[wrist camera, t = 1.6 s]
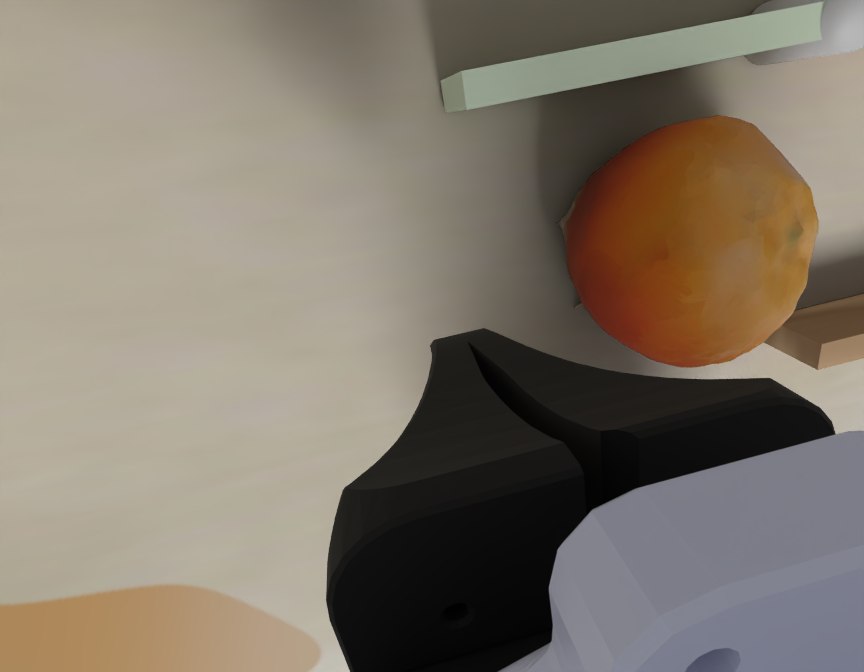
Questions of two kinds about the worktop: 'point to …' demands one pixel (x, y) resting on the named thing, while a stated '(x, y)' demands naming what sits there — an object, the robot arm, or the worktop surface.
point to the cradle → (823, 333)
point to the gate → (669, 52)
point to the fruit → (692, 242)
